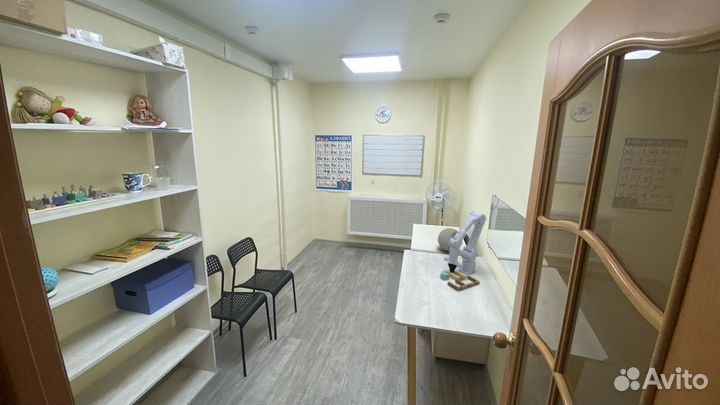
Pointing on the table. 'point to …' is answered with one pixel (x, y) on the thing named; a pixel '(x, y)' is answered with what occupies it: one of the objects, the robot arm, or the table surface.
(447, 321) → the table surface
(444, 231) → the moon model
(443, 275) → the teal block
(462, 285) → the walnut frame
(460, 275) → the oak slab
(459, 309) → the table surface
